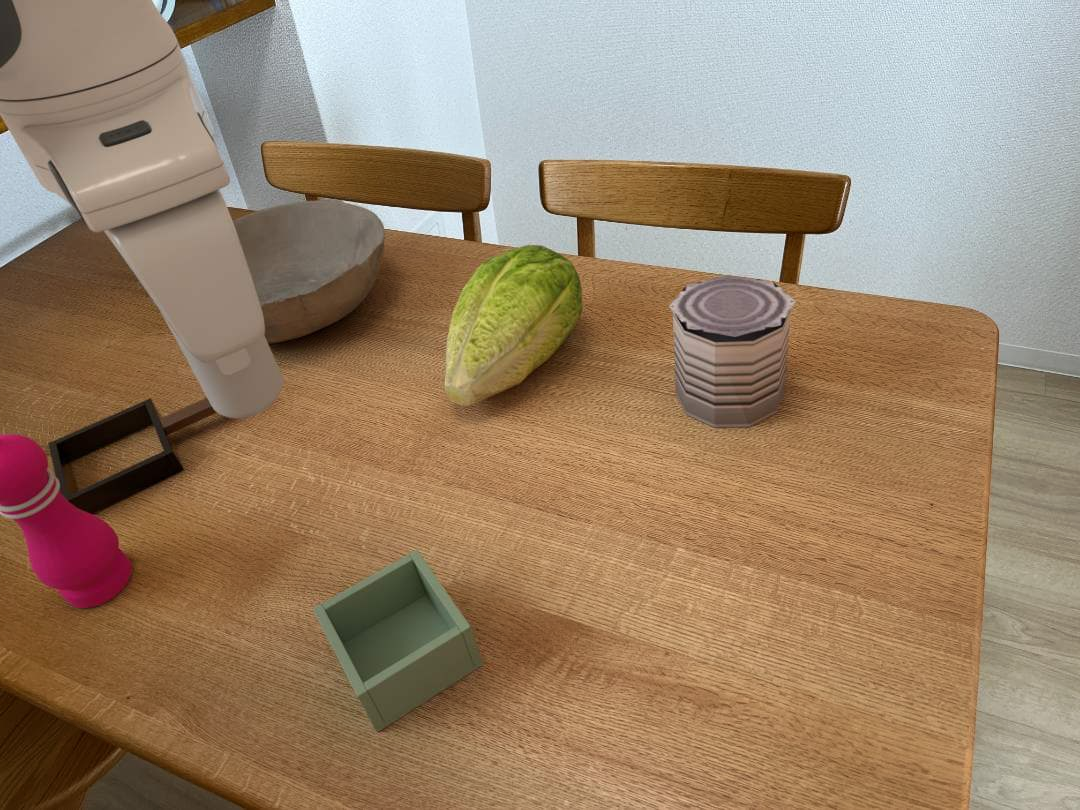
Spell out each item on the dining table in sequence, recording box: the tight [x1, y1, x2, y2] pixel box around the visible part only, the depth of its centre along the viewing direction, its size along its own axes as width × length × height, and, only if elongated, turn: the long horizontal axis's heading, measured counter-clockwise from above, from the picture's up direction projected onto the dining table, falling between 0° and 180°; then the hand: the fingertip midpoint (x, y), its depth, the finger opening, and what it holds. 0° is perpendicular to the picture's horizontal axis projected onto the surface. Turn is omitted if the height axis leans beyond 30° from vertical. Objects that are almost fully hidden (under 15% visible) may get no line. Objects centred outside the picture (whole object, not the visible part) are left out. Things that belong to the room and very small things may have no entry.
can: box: [668, 274, 796, 429], centre depth 82 cm, size 11×11×12 cm
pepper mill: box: [0, 433, 133, 609], centre depth 71 cm, size 7×7×20 cm
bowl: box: [232, 199, 386, 345], centre depth 107 cm, size 28×28×10 cm
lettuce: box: [444, 244, 583, 408], centre depth 91 cm, size 13×22×14 cm
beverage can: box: [160, 312, 284, 420], centre depth 49 cm, size 5×5×12 cm
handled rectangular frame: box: [48, 397, 218, 515], centre depth 91 cm, size 20×12×3 cm, turn 123°
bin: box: [312, 548, 484, 733], centre depth 65 cm, size 10×10×6 cm
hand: (221, 342), depth 50 cm, fingers closed on beverage can, 5 cm apart
